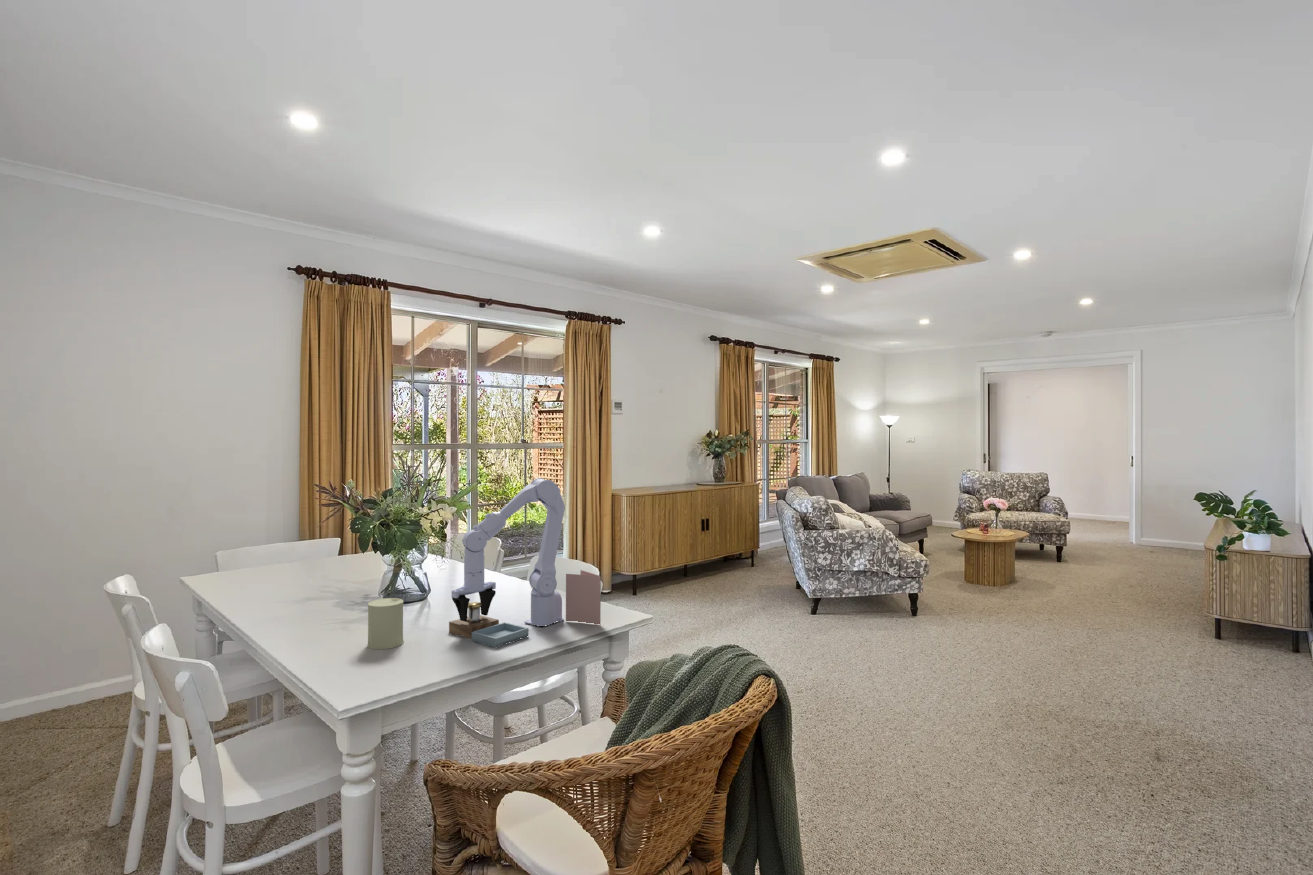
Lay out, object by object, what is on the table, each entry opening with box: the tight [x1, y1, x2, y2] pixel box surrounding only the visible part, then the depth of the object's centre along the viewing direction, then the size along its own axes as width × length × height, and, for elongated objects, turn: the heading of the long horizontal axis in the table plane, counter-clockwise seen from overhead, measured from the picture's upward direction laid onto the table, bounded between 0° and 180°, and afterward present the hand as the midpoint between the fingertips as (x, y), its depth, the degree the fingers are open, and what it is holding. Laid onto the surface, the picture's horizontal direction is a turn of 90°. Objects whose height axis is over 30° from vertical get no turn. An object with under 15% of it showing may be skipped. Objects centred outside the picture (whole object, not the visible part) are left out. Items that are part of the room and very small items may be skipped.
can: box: [367, 597, 405, 650], centre depth 179 cm, size 9×9×12 cm
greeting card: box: [565, 569, 602, 625], centre depth 200 cm, size 11×7×15 cm, turn 38°
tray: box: [471, 622, 530, 648], centre depth 184 cm, size 12×10×2 cm
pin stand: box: [448, 614, 500, 639], centre depth 191 cm, size 10×10×3 cm
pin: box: [467, 601, 481, 624], centre depth 191 cm, size 4×4×8 cm
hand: (474, 617), depth 191 cm, fingers open, 7 cm apart
